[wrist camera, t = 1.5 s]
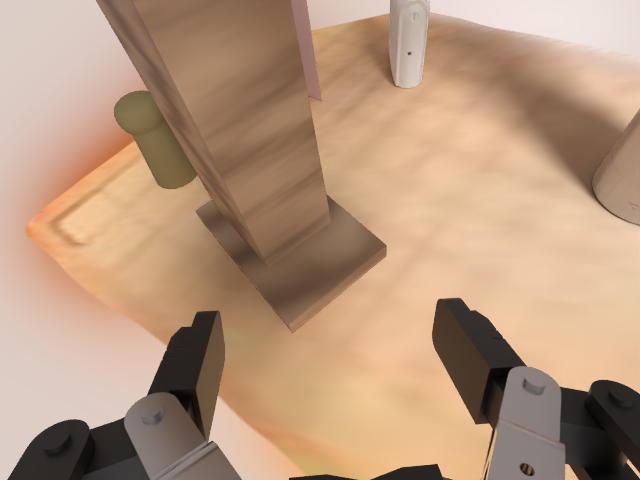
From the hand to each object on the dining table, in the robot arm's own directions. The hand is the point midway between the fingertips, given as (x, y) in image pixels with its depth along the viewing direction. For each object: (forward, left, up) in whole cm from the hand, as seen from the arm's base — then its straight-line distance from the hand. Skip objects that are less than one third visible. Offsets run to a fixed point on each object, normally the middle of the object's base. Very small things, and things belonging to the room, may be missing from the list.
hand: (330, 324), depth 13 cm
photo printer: (-46, -12, -20) cm, 51 cm away
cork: (-17, -33, -20) cm, 42 cm away
